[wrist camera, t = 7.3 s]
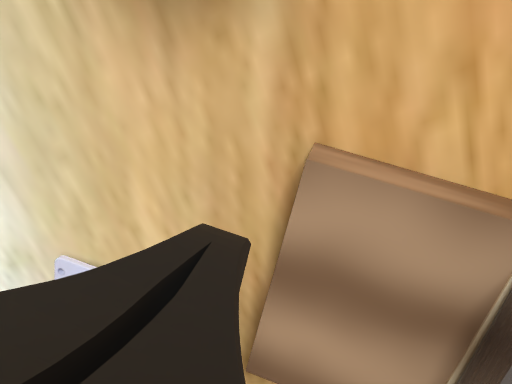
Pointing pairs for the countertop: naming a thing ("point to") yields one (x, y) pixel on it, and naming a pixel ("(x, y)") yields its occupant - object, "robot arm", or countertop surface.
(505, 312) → the folding leg
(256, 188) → the countertop surface
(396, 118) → the countertop surface
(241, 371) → the robot arm
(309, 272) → the stool seat
